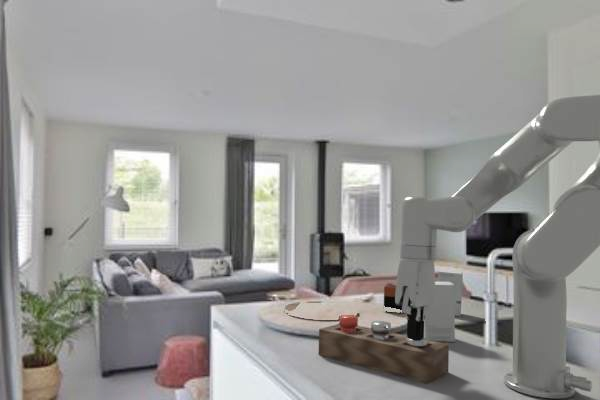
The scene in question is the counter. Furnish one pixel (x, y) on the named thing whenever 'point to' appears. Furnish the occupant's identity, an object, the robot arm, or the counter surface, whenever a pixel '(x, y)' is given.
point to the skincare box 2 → (441, 314)
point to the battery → (390, 296)
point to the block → (385, 353)
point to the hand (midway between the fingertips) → (415, 338)
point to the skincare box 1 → (457, 281)
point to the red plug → (348, 323)
